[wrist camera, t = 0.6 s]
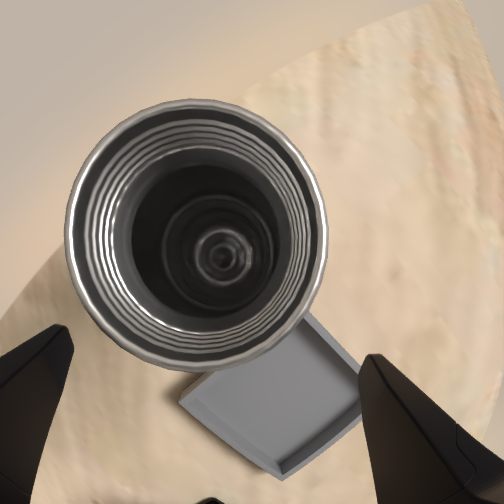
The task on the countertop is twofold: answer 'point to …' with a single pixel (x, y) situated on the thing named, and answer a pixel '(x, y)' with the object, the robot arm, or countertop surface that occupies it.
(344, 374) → the gray tray
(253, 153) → the plastic bottle
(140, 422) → the countertop surface
